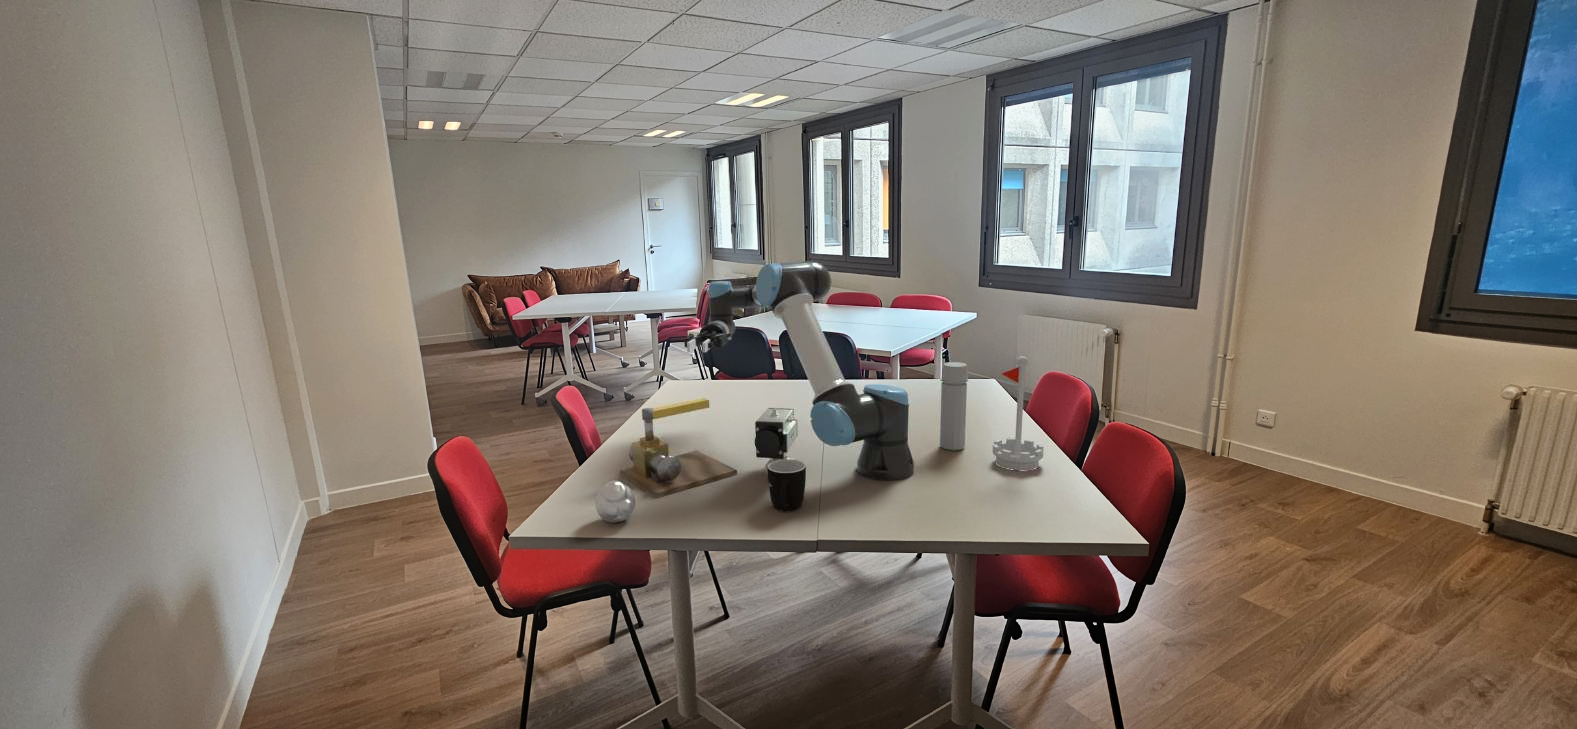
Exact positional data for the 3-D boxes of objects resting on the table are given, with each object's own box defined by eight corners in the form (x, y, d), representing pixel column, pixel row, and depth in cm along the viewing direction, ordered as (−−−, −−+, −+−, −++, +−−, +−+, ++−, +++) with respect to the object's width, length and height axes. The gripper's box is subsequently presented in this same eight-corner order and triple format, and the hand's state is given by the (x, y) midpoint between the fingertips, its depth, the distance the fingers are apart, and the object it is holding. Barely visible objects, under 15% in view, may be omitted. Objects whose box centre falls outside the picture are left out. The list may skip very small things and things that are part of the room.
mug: (771, 498, 161) (770, 458, 159) (808, 499, 160) (807, 459, 158) (763, 519, 150) (762, 477, 148) (803, 520, 149) (802, 478, 147)
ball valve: (787, 486, 168) (785, 419, 165) (754, 484, 170) (752, 418, 167) (801, 462, 186) (799, 400, 182) (771, 460, 187) (769, 399, 184)
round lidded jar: (589, 529, 146) (585, 487, 144) (606, 511, 156) (602, 471, 154) (628, 531, 145) (624, 488, 143) (643, 513, 154) (640, 472, 152)
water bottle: (967, 452, 191) (970, 367, 186) (939, 451, 192) (941, 366, 187) (964, 441, 200) (966, 360, 195) (937, 441, 201) (939, 360, 196)
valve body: (658, 486, 167) (655, 432, 164) (628, 468, 180) (625, 418, 177) (682, 479, 171) (679, 427, 168) (652, 462, 184) (649, 413, 182)
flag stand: (1044, 459, 184) (1050, 353, 178) (1040, 475, 172) (1047, 362, 166) (995, 453, 189) (1000, 350, 183) (988, 469, 177) (993, 359, 171)
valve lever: (645, 421, 172) (645, 411, 172) (640, 418, 174) (639, 409, 174) (709, 407, 184) (709, 398, 183) (704, 405, 186) (703, 396, 186)
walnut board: (656, 497, 163) (655, 493, 163) (620, 474, 179) (619, 470, 179) (737, 474, 178) (736, 469, 177) (697, 454, 194) (696, 450, 193)
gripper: (741, 345, 208) (726, 360, 185) (689, 345, 210) (667, 360, 187) (740, 322, 207) (725, 334, 184) (688, 322, 209) (666, 334, 186)
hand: (696, 347), depth 186 cm, fingers open, 4 cm apart
